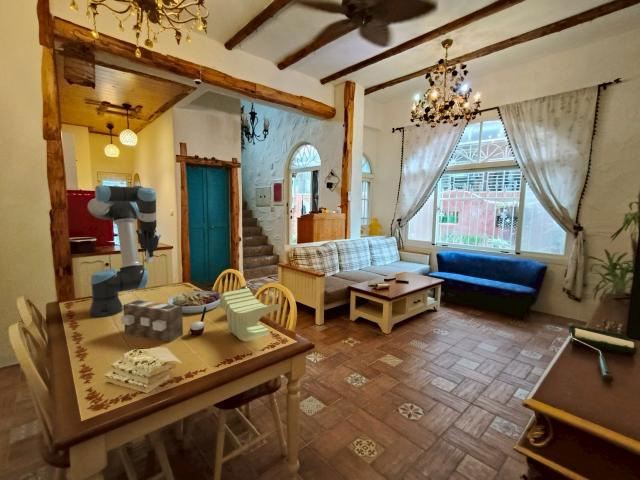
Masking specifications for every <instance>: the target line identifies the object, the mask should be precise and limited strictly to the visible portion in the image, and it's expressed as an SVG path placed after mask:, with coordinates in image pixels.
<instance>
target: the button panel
mask: <svg viewBox="0 0 640 480" xmlns="http://www.w3.org/2000/svg"><path fill="white" fill-rule="evenodd" d="M122 306H123V316H124V315H127V314H129V315H135V323H133V324H130V325H125V324H123V325H124V334H125V335H131V336H135V337H141V338H144V339H145V338H146V339H151V340H156V341H160V342H168V343H171V342H173V341H174V340H176V339H178V338H180V337H182V336H183V335H184V331H183V330H184V328H183V325H184V324H183V322H184V320H183V313H182V306H176V305H169V304H167V303H164V302H163V303H162V302H155V301H148V300H141V299H137V300H134V301H131V302H128V303H125V304H122ZM141 317H149V318H150V322H151V325H150V326H144V325H141V320H140V318H141ZM156 320H164V321H166V324H167V328H166V329H164V330H162V331H158V330H153V322H154V321H156Z"/></svg>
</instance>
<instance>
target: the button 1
mask: <svg viewBox="0 0 640 480" xmlns="http://www.w3.org/2000/svg"><path fill="white" fill-rule="evenodd" d="M133 323H135V315H129V314H127V315H124V314H123V315H122V316H120V324H121V325H124V324H125V325H130V324H133Z"/></svg>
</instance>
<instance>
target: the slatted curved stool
mask: <svg viewBox="0 0 640 480" xmlns="http://www.w3.org/2000/svg"><path fill="white" fill-rule="evenodd" d="M239 289H240V290H236V289H235V290H230V291H225V292H223V293H222V294H220V295H221V297H220V304H219V309H223V310H224V312H225V314H226V319H227V328H228V331H229V332H231V334H233V335H234V336H236V337H237V338H238V339H239V340H240V341H242V342H248V341H252V340H255V339H259V338H261V337H265V336H268V335H270V334H271V333H270V329H268V328H267V327H265V326H264V325H262V324H261V323H259V321H260V319H261V318H262V317H264V316H265V315H267V314H270V313H272V312H275V311H276V312H277V311H279V310H281V309H280V308H281V303H280V302H279V303H276V304H272V305H266V304H264V303H262V302H261V301H259V299H257V298H256V296H255V295H254V294H253V292H252V291H251V290H250V288H249V287H248V288H246V289H241V288H239Z"/></svg>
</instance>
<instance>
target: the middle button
mask: <svg viewBox="0 0 640 480" xmlns="http://www.w3.org/2000/svg"><path fill="white" fill-rule="evenodd" d="M140 320H141V325H144V326H150V325H151V322H150V318H149V317H141V318H140Z"/></svg>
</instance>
